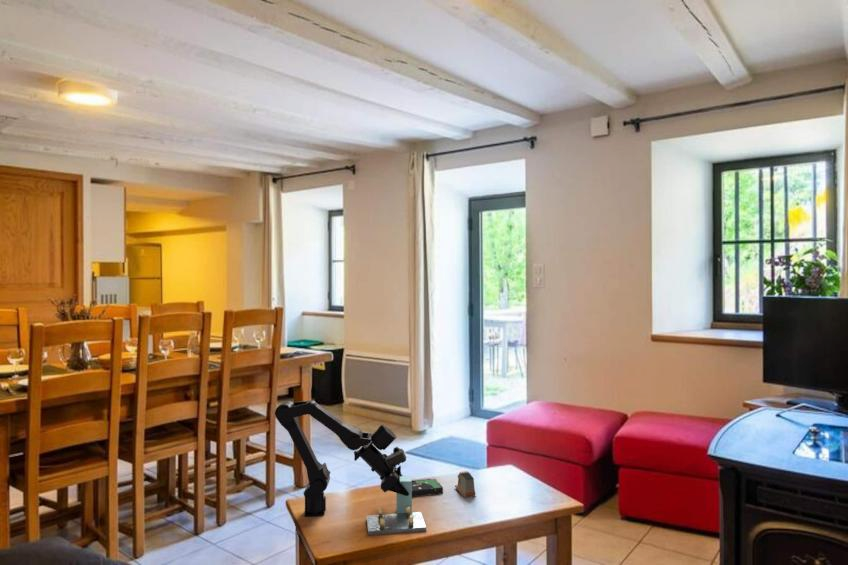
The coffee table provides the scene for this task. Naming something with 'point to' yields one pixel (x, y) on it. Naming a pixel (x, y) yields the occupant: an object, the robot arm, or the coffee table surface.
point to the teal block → (402, 499)
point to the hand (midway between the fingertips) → (408, 491)
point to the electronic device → (465, 484)
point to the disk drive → (426, 487)
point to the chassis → (395, 522)
